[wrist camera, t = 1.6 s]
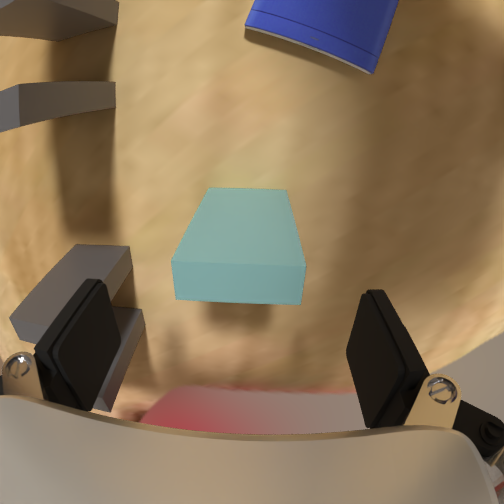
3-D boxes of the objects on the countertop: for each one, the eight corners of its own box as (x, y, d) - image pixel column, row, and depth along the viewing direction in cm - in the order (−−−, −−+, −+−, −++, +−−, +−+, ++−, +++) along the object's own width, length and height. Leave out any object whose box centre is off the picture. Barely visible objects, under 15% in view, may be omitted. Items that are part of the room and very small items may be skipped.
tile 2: (59, 20, 13) (-34, 5, 5) (119, 2, 13) (33, -38, 5) (57, 41, 14) (-39, 35, 6) (117, 24, 14) (26, -6, 6)
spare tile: (209, 187, 20) (171, 260, 11) (286, 190, 20) (306, 265, 11) (209, 213, 20) (175, 299, 12) (284, 215, 20) (300, 304, 12)
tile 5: (76, 244, 22) (8, 317, 13) (129, 246, 22) (69, 330, 13) (80, 263, 23) (20, 339, 14) (132, 266, 23) (80, 354, 14)
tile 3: (56, 94, 16) (-43, 111, 8) (115, 81, 16) (18, 84, 8) (57, 117, 17) (-40, 146, 9) (115, 107, 17) (20, 126, 9)
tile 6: (92, 303, 25) (44, 382, 16) (141, 309, 25) (102, 398, 16) (97, 319, 25) (54, 397, 17) (145, 325, 25) (110, 412, 17)
